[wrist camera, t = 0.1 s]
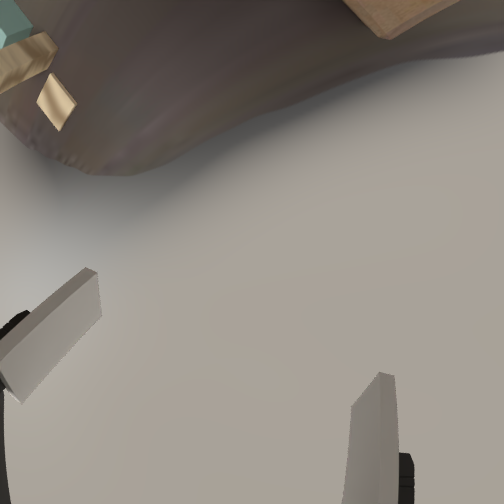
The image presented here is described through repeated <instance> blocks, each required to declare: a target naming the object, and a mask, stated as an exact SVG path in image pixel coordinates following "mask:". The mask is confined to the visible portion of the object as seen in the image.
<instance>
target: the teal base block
mask: <svg viewBox="0 0 504 504" xmlns="http://www.w3.org/2000/svg"><path fill="white" fill-rule="evenodd" d="M32 28H33V25H32V24H31V23H30V21H29V20H28V19H27V17H26V16H25V15H24V14H23V12H22V11H21V10H20V8H19V7H18V6H17V4H16V3H15V2H14V0H0V49H2V48H4V47H6V46H9V45H11V44H13V43H16V42H18V41H21V40H23V39H26V38H28V37H29V35H30V32H31V30H32Z"/></svg>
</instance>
